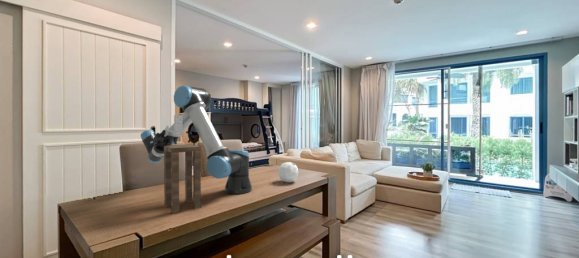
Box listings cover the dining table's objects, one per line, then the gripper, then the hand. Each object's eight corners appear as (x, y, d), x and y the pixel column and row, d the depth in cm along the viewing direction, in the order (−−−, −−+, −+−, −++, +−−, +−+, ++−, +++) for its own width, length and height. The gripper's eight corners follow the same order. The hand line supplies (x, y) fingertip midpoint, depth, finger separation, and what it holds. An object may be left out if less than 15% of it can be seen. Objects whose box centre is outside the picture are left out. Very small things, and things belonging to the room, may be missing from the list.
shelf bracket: (163, 134, 131) (163, 115, 130) (169, 134, 133) (169, 115, 132) (175, 136, 116) (175, 115, 115) (182, 136, 118) (182, 115, 117)
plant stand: (164, 205, 116) (163, 145, 115) (190, 200, 124) (190, 144, 123) (173, 213, 106) (172, 148, 105) (200, 207, 114) (200, 146, 113)
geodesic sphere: (306, 172, 167) (294, 155, 169) (301, 176, 154) (288, 158, 156) (289, 183, 170) (278, 167, 172) (283, 188, 157) (271, 170, 159)
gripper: (176, 152, 144) (189, 134, 129) (145, 155, 134) (155, 135, 118) (174, 141, 147) (187, 121, 131) (143, 142, 136) (153, 121, 121)
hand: (171, 128), depth 125 cm, fingers closed on shelf bracket, 3 cm apart
